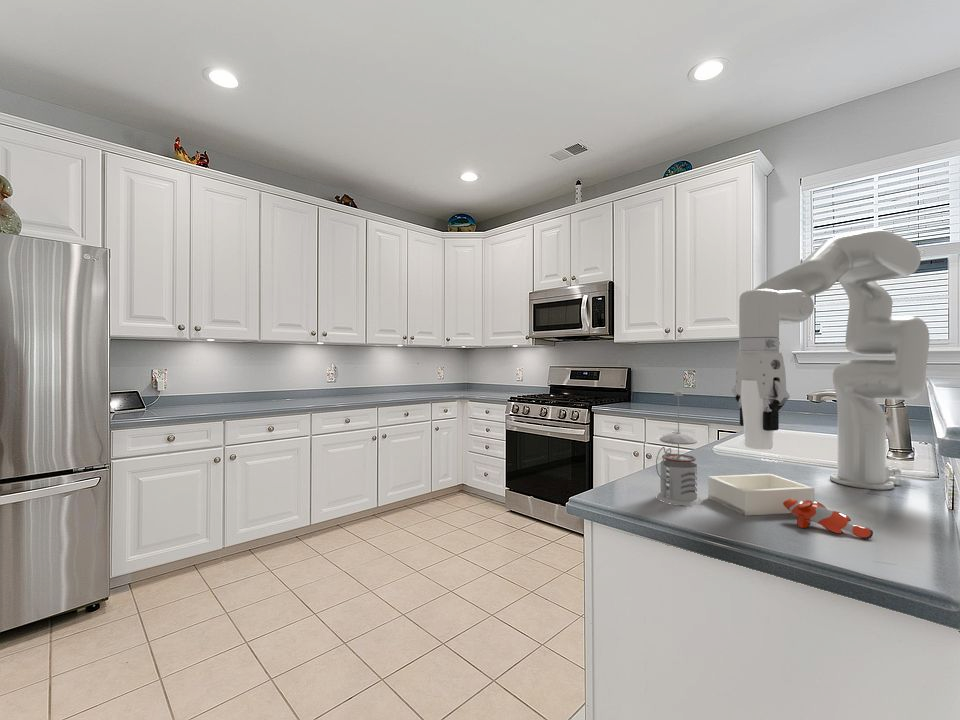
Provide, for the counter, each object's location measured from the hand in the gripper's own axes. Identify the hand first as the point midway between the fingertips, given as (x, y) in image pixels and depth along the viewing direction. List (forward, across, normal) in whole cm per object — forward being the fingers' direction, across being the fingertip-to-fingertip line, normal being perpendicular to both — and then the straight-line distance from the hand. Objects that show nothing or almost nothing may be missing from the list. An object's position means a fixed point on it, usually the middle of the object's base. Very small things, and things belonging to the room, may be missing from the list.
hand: (758, 427), depth 101 cm
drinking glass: (+5, 0, 0) cm, 5 cm away
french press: (+17, +6, +16) cm, 24 cm away
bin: (+17, 0, 0) cm, 17 cm away
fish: (+18, -14, -1) cm, 23 cm away
